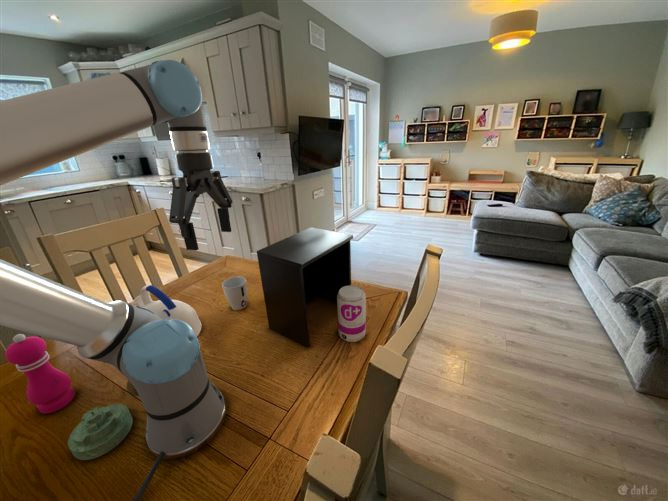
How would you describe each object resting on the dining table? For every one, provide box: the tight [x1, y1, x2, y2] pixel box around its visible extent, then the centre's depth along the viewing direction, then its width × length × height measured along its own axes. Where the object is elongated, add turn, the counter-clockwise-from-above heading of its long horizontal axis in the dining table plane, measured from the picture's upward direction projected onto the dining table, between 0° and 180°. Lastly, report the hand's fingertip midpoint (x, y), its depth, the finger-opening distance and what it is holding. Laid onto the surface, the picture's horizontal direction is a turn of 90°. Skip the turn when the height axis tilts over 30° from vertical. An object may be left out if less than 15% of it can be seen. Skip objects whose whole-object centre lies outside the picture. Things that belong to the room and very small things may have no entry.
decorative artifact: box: [67, 403, 134, 461], centre depth 56 cm, size 10×7×10 cm
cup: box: [221, 276, 248, 311], centre depth 98 cm, size 8×8×10 cm
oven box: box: [256, 226, 354, 349], centre depth 87 cm, size 17×24×27 cm
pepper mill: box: [4, 333, 76, 415], centre depth 62 cm, size 7×7×20 cm
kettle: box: [133, 284, 203, 338], centre depth 83 cm, size 20×21×18 cm
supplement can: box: [336, 284, 367, 343], centre depth 81 cm, size 8×8×15 cm
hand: (211, 239), depth 71 cm, fingers open, 13 cm apart
